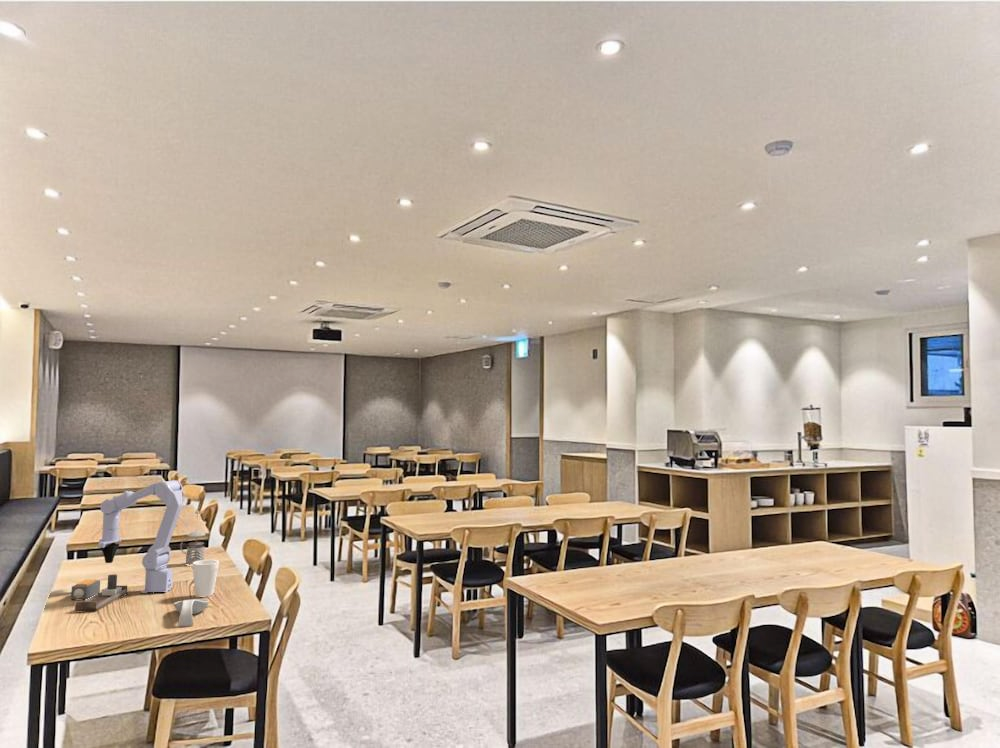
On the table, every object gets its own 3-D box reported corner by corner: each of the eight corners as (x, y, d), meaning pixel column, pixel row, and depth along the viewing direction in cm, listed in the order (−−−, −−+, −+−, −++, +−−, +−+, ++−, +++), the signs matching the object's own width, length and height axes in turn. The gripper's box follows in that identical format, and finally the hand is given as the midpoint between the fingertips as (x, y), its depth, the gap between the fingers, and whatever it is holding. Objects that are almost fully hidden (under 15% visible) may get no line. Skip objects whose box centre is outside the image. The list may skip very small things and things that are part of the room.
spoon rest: (175, 609, 246) (175, 589, 246) (210, 607, 250) (210, 587, 250) (166, 629, 224) (167, 607, 224) (205, 625, 228) (206, 604, 228)
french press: (204, 566, 317) (206, 512, 318) (177, 566, 314) (179, 512, 316) (208, 561, 326) (210, 509, 328) (182, 562, 323) (184, 509, 325)
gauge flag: (96, 581, 265) (96, 579, 265) (86, 585, 258) (87, 584, 258) (85, 581, 264) (85, 579, 264) (76, 585, 257) (76, 584, 257)
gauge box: (99, 593, 266) (100, 580, 266) (85, 600, 256) (86, 586, 256) (84, 593, 265) (85, 580, 266) (70, 600, 255) (71, 586, 256)
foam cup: (217, 592, 270) (219, 559, 271) (217, 597, 262) (218, 563, 263) (191, 593, 267) (193, 560, 268) (190, 599, 258) (191, 565, 259)
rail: (126, 594, 265) (127, 585, 265) (95, 611, 241) (96, 602, 241) (108, 594, 264) (108, 585, 264) (75, 612, 240) (75, 602, 241)
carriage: (121, 592, 262) (122, 573, 263) (115, 595, 257) (116, 576, 258) (108, 592, 262) (109, 573, 262) (101, 595, 257) (102, 576, 257)
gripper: (109, 525, 281) (107, 558, 280) (91, 531, 267) (89, 566, 266) (126, 525, 282) (125, 558, 281) (109, 531, 267) (108, 566, 267)
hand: (109, 562), depth 273 cm, fingers closed
